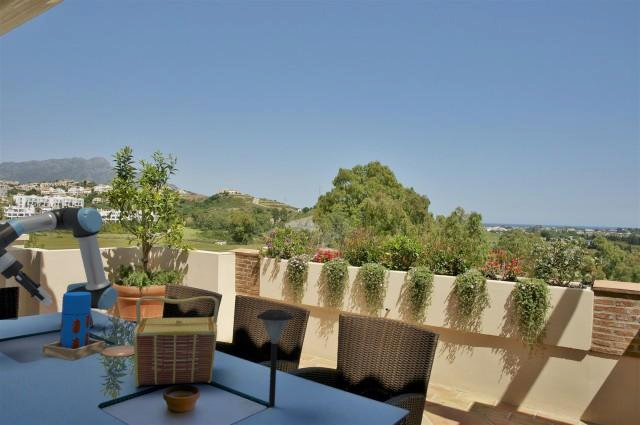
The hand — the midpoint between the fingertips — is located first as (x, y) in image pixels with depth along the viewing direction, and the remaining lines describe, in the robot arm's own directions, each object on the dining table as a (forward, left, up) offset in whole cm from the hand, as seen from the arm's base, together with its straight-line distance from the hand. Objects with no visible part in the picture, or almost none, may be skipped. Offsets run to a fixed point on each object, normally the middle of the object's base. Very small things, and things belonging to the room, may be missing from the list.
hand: (49, 302), depth 192 cm
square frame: (-8, +6, -22) cm, 24 cm away
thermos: (-8, +6, -22) cm, 24 cm away
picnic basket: (+1, +63, -22) cm, 67 cm away
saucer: (-18, +22, -22) cm, 36 cm away
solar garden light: (+10, +106, -22) cm, 109 cm away
